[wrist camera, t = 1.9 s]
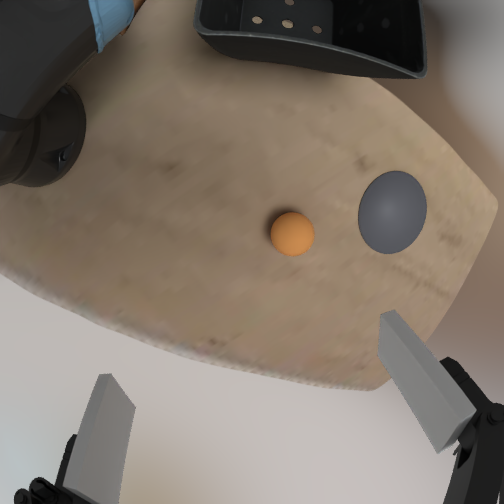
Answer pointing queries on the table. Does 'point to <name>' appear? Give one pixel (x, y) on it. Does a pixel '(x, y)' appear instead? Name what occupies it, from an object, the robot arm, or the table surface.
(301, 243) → the ball
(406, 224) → the disc
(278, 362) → the table surface
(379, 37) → the flower pot
